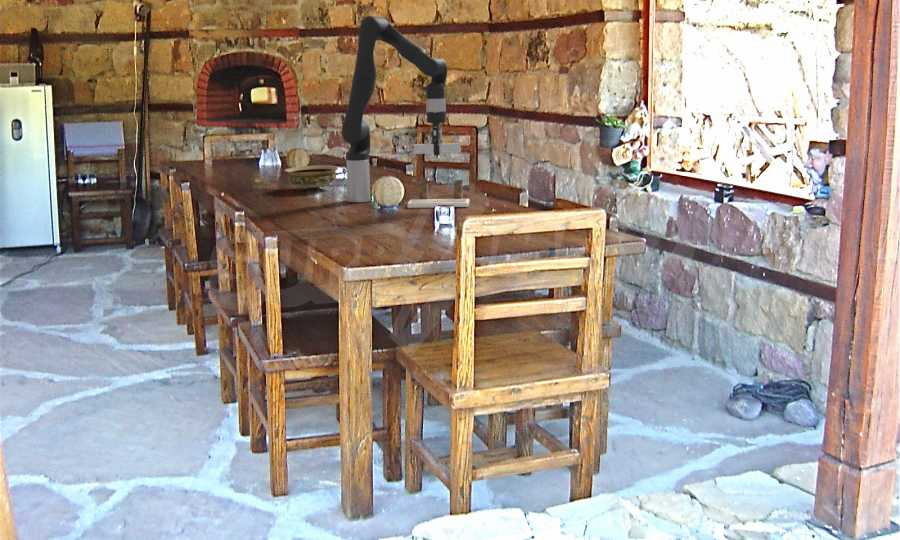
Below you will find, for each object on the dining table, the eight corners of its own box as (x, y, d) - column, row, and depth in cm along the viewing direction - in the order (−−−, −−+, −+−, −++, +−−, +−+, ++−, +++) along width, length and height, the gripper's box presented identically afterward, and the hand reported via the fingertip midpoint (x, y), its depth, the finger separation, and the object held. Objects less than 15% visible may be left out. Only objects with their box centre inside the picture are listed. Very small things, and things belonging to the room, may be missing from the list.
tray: (407, 208, 382) (407, 203, 381) (411, 204, 391) (410, 199, 391) (467, 207, 379) (467, 202, 379) (469, 203, 389) (469, 198, 388)
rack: (416, 203, 393) (415, 182, 391) (418, 201, 398) (417, 180, 397) (465, 203, 391) (464, 181, 389) (466, 200, 396) (466, 179, 395)
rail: (413, 153, 380) (413, 144, 379) (415, 152, 383) (414, 144, 383) (459, 153, 378) (459, 144, 377) (460, 152, 382) (460, 143, 381)
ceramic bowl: (275, 189, 446) (274, 167, 444) (323, 184, 458) (322, 163, 456) (301, 196, 421) (300, 173, 419) (351, 191, 433) (350, 169, 431)
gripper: (428, 109, 384) (429, 153, 388) (424, 111, 371) (425, 156, 374) (447, 109, 384) (448, 152, 387) (443, 111, 370) (444, 156, 374)
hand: (437, 154), depth 381 cm, fingers closed on rail, 3 cm apart
